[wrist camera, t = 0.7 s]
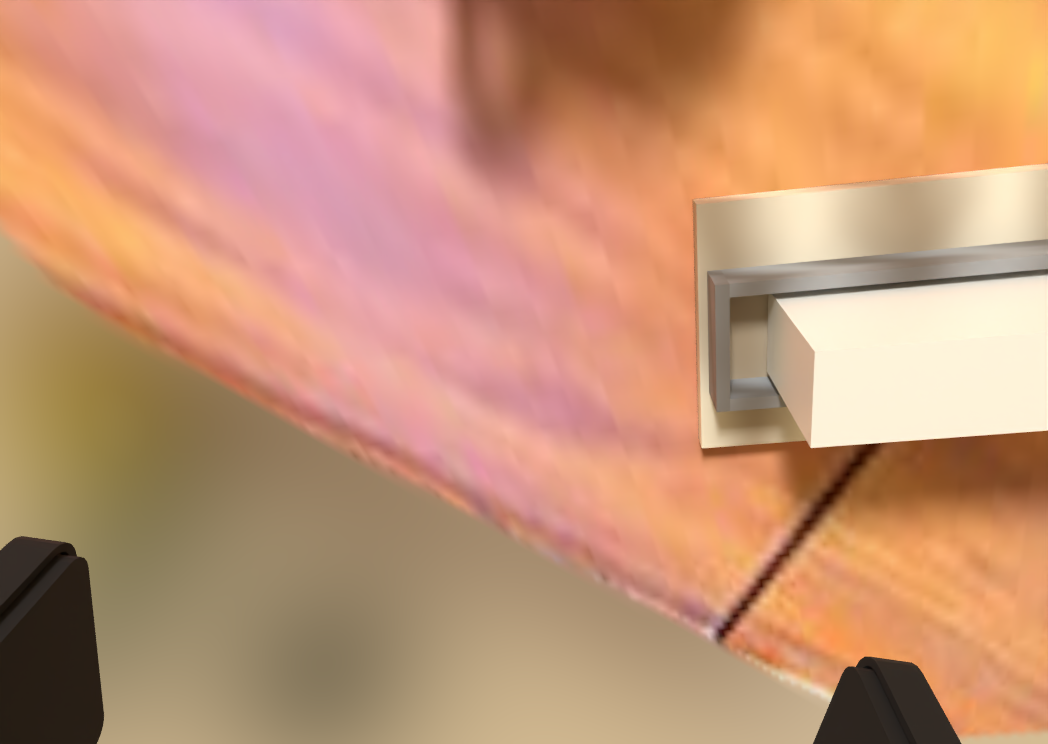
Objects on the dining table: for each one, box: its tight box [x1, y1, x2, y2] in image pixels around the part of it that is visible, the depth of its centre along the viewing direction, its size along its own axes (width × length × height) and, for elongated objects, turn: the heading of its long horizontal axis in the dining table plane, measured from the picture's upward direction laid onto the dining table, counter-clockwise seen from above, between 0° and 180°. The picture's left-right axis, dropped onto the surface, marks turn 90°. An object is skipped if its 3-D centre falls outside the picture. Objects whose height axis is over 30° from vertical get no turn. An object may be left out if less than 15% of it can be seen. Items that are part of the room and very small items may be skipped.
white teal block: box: [767, 269, 1048, 448], centre depth 32 cm, size 15×4×7 cm, turn 96°
